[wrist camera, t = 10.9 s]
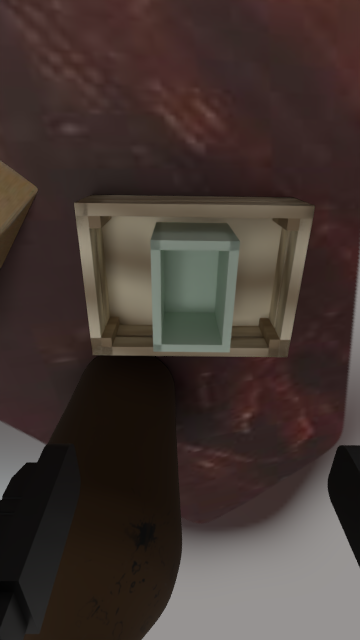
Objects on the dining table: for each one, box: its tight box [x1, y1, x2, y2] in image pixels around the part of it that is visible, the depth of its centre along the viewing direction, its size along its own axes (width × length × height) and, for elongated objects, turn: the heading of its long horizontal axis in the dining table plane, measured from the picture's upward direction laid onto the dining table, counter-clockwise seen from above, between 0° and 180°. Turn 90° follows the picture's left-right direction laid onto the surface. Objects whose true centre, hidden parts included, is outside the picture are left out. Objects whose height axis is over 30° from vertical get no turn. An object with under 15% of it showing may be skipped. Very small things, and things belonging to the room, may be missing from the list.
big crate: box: [74, 195, 315, 357], centre depth 26 cm, size 12×16×5 cm
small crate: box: [150, 222, 240, 352], centre depth 25 cm, size 8×6×6 cm
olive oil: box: [23, 355, 182, 640], centre depth 23 cm, size 11×11×25 cm
